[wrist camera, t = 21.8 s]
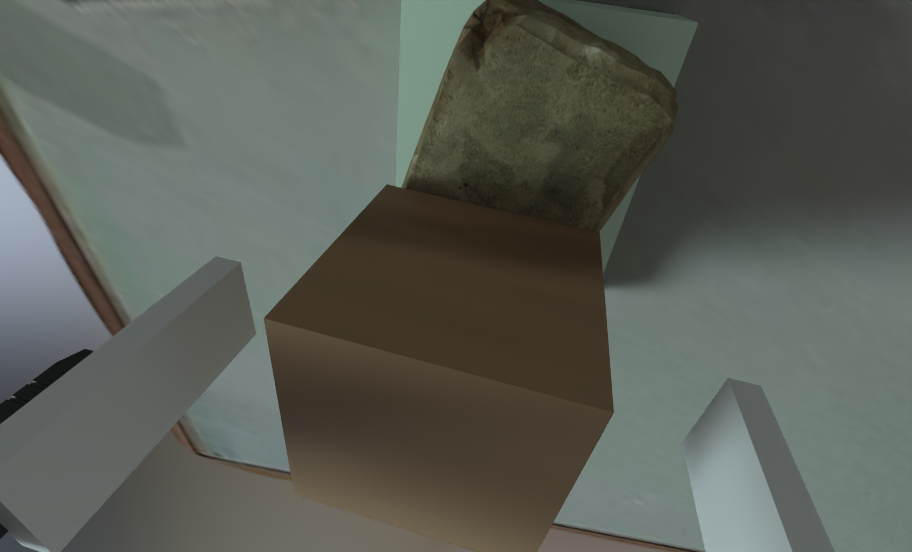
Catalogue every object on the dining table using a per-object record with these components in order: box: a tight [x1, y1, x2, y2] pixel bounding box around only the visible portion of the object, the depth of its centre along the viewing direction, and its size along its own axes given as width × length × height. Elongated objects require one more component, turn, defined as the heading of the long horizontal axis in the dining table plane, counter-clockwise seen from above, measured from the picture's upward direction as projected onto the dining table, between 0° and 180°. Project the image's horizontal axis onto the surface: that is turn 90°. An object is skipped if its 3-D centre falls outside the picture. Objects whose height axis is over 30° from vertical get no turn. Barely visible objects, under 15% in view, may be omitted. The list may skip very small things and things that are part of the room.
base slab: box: [396, 0, 698, 273], centre depth 18 cm, size 12×9×3 cm
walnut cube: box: [264, 185, 614, 552], centre depth 11 cm, size 6×6×6 cm
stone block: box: [401, 0, 678, 232], centre depth 15 cm, size 6×12×5 cm, turn 157°
